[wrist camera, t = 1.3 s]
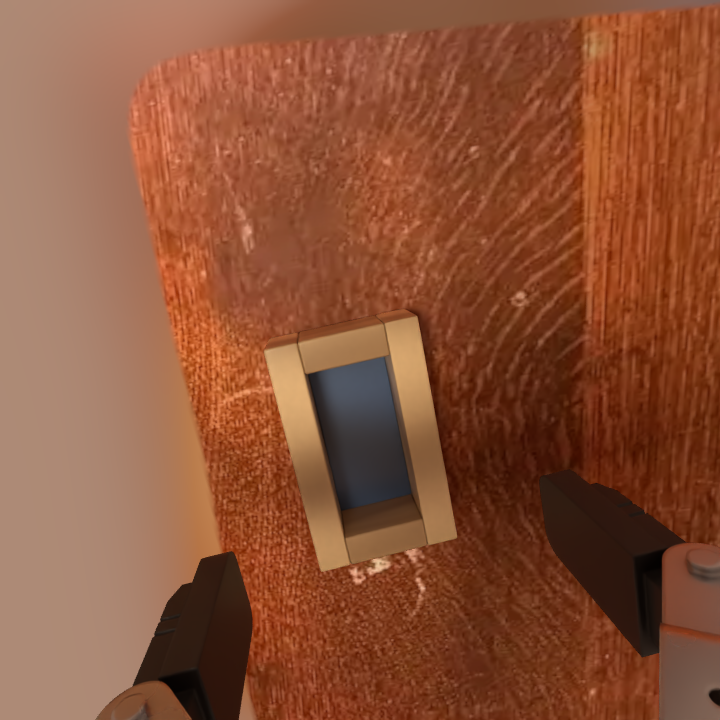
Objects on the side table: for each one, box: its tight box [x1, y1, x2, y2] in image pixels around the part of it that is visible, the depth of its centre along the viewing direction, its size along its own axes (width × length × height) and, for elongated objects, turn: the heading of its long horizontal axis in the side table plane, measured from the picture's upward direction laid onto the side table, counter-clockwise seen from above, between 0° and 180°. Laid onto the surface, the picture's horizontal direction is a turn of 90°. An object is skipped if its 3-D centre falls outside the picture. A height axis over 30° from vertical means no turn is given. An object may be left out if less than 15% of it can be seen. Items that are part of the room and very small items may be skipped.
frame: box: [264, 309, 457, 572], centre depth 19 cm, size 9×6×2 cm, turn 12°
